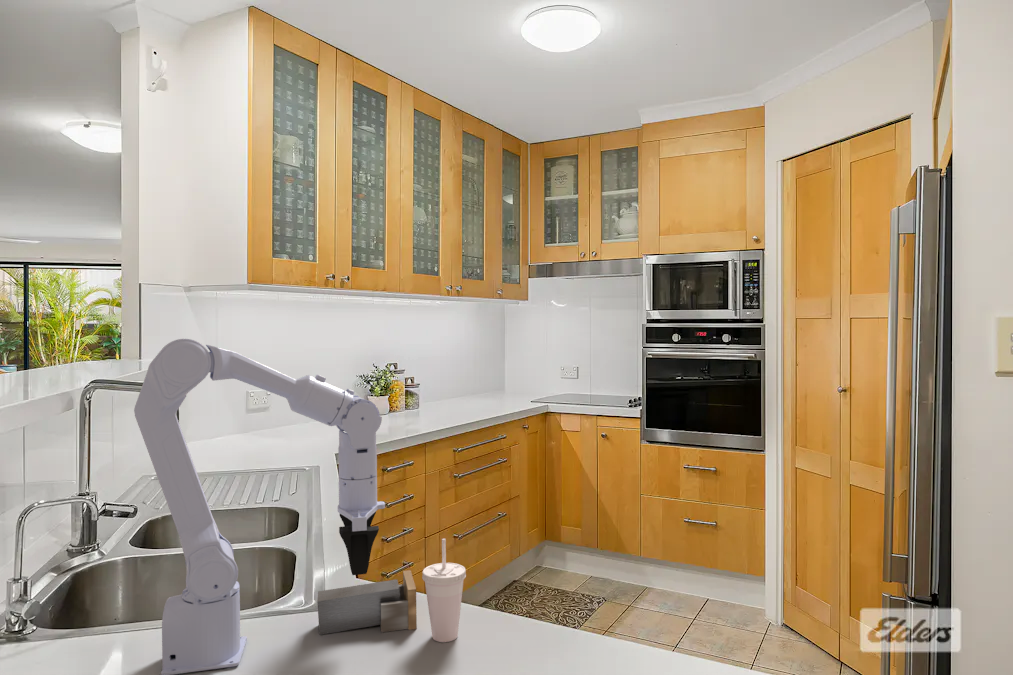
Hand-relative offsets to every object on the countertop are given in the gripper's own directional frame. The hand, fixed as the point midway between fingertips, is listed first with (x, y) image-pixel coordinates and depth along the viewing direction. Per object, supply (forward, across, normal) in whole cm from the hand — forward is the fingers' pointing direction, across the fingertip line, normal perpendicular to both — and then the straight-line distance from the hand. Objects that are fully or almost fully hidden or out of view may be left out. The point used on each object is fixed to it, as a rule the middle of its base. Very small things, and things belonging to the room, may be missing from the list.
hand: (358, 564), depth 97 cm
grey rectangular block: (+9, 0, 0) cm, 9 cm away
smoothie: (+9, -7, -12) cm, 17 cm away
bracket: (+9, 0, -5) cm, 10 cm away
